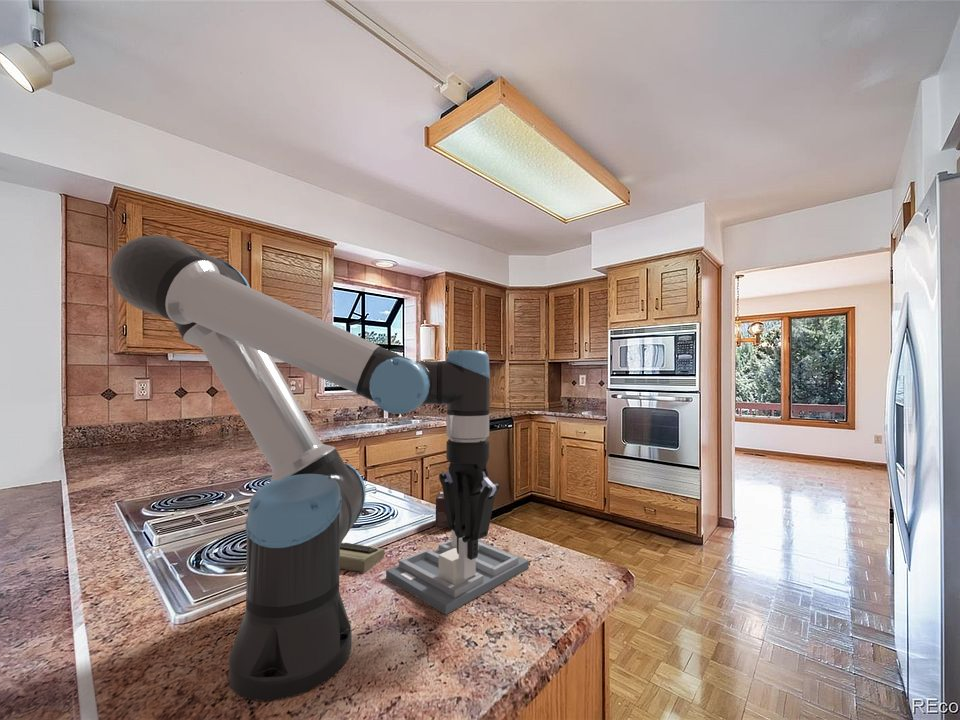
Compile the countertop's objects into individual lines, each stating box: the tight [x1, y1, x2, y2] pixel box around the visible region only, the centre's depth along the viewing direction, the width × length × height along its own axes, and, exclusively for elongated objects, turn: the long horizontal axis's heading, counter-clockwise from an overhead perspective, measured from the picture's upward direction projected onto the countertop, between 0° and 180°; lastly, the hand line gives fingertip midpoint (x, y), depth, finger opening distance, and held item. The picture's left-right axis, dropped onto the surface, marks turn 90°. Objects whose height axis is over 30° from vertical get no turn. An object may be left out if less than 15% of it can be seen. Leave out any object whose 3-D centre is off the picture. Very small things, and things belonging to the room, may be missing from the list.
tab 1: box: [451, 530, 480, 550], centre depth 86 cm, size 4×4×4 cm
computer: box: [339, 541, 386, 575], centre depth 86 cm, size 16×8×3 cm, turn 73°
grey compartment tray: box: [385, 539, 530, 615], centre depth 80 cm, size 22×17×3 cm
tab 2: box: [438, 548, 470, 587], centre depth 74 cm, size 4×4×4 cm
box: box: [435, 491, 455, 528], centre depth 106 cm, size 6×6×7 cm
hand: (467, 575), depth 71 cm, fingers closed
